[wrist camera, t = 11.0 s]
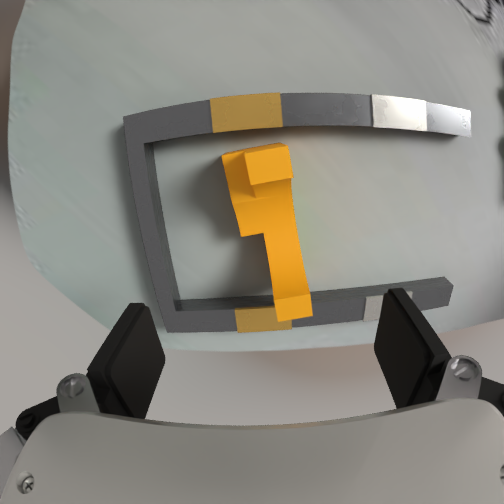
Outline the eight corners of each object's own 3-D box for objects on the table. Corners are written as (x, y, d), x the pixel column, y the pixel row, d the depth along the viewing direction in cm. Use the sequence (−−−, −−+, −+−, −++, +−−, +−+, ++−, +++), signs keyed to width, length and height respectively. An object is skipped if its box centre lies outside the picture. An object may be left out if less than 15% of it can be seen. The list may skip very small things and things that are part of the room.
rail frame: (457, 110, 19) (471, 110, 17) (439, 296, 27) (448, 306, 25) (132, 116, 21) (121, 116, 19) (171, 320, 29) (166, 334, 27)
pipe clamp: (226, 152, 22) (214, 160, 16) (279, 142, 22) (287, 145, 16) (255, 282, 27) (254, 325, 21) (301, 274, 27) (312, 315, 21)
